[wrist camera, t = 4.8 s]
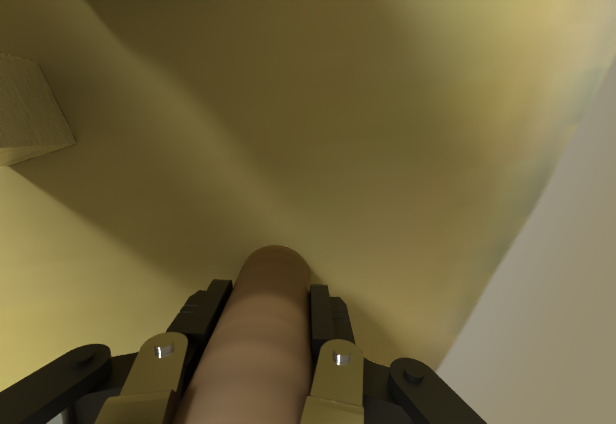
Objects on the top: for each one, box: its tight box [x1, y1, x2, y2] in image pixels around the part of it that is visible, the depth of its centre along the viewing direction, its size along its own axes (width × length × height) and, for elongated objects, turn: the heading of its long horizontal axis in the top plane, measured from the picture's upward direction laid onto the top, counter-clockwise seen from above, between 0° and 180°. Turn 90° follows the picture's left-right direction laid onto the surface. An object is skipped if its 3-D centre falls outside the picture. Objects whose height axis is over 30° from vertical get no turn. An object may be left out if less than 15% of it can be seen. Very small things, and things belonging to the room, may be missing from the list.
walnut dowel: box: [172, 246, 313, 424], centre depth 11 cm, size 3×3×9 cm
